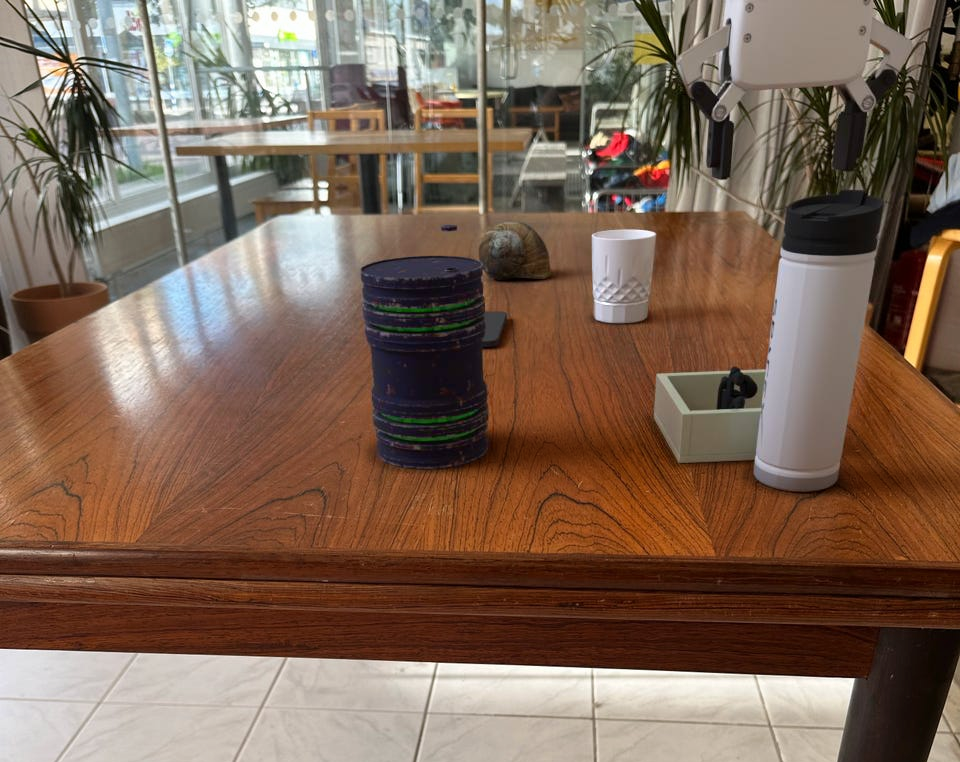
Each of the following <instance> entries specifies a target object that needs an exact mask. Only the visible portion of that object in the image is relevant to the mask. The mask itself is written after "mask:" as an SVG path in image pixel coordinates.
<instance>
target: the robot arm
mask: <svg viewBox="0 0 960 762" xmlns="http://www.w3.org/2000/svg"><path fill="white" fill-rule="evenodd" d="M724 5H725V6H724V12H723V19H722V27H720V28H718V29H717V30H716V31H714V32H713V33H711V34H709V35H708V36H707V37H705V38H703V39H702V40H700V41H699V42H698V43H696V44H694V45H693V46H691V47H690V48H688V49H687V50H685V51H684V52H682V53H680V54H679V55H678V56H677V58H676V60H675V65H676V69H677V70H678V73H679V76H680V78H681V80H682V83H683V85H684V87H685V90H686V94H687V96H688V98H689V99H690V100H691V101H692V102H693V104H694V105H695V106H696V107H697V108H698V109H699V110H700V112H701V113H702V114H703V115H704V118H705V119H706V120H708V125H707V126H708V127H707V140H706V157H705V159H706V161H705V162H706V163H705V164H706V168H707V169H711V176H712V178H714V179H716V180H718V181H724V180H725V181H726V180H728V179H729V178H731V173H732V161H733V160H732V159H733V147H734V133H735V122H733V120H731V112H732V111H733V110H734V108H735V107H736V106H737V104H738V103H740V101H741V99H742V98H743V97H744V95H746V93H747V92H748V91H767V90H769V91H770V90H785V89H800V88H814V87H815V88H816V87H829V86H833V87H834V88H835V91H836V92H837V94H838V95H839V97H840V98H841V100H842V102H843V103H844V110H843V111H842V110H841V111H840V113H838V116H837V119H836V120H837V121H836V122H837V123H836V129H835V137H834V138H835V139H834V144H833V153H832V161H831V167H832V168H833V169H834V170H838V171H840V172H845V173H850V172H851V173H852V172H854V171H855V169H856V163H857V159H860V158H861V157H862V153H863V149H864V141H865V134H866V133H865V132H866V128H867V119H868V113H870V112H871V111H872V110H873V109H874V108H875V107H876V104H877V102H878V101H879V100H880V99H881V98H882V97H883V96H884V95H885V93H887V91H889V89H891V87H892V86H893V85H894V84H895V83H896V80H897V75H898V74H899V72H901V70H902V69H903V67H904V65H905V63H906V61H907V60H908V58H909V56H910V54H911V53H912V51H913V49H914V42H913V41H912V40H911V39H910V38H908V37H907V36H905V35H903V34H902V33H900V32H898V31H897V30H895V29H893V28H891V27H890V26H888V25H886V24H885V23H883V22H882V21H880V20H878V19H877V18H875V17H873V13H874V11H873V9H874V0H725V4H724ZM870 45H872V46H873V47H875V48H877V49H878V50H880V51H881V52H882V54H883V57H882V60H881V62H880V65H879V67H878V68H877V70H876V71H875V72H873V74H871V76H870V77H869V78H868V79H867V80H865V79H864V77H863V73H864V71H865V70H866V66H867V62H868V61H867V60H868V56H869V51H870ZM717 54H719V55H718V80H719V82H720V83H721V85H720V87H719V88H718V89H717V90H716V92H714V91H713V90H712V89H711V88H710V87H709V85H708V84H707V83H706V81H705V79H704V77H703V74H702V65H703V64H704V63H705V62H706V61H708V60H710V59H711V58H712V57H714V56H715V55H716V56H717Z"/></svg>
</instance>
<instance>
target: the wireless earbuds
mask: <svg viewBox="0 0 960 762" xmlns="http://www.w3.org/2000/svg"><path fill="white" fill-rule="evenodd" d="M740 370H741V368H739V367H738V366H735V365H733V366H732V367H731V368H730V370H729V371H730V374H729V377H726V376H724V377H722V379H721V383H720V385H719V389H718V397H717V407H716V410H723V409H744V405H745V399H750V398H752V397H754V396H755V395H756V393H757V390H758V387H757V384H756V383H755V382H754V380H753V379H752V378H751V377H750V376H749V375H744V374H743V373H742V372H741V371H740ZM734 383H735V385H737V386H739V387H740V391H738V390H735V389H734ZM723 390H724V391H723Z"/></svg>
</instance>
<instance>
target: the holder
mask: <svg viewBox="0 0 960 762" xmlns="http://www.w3.org/2000/svg"><path fill="white" fill-rule="evenodd" d="M730 371H731V370H715V371H713V370H712V371H695V372H694V371H693V372H692V371H691V372H690V371H689V372H688V371H687V372H668V373H656V375H655V390H654V391H655V392H654V407H653V419H654V421H655V423H656V425H657V426H658V428H659V430H660V432H661V434H662V435H663V437H664V439H665V441H666V443H667V444H668V446H669V448H670V450H671V452H672V453H673V455H674V457H675V459H676V460H677V463H678V464H689V463H692V464H693V463H714V462H715V463H716V462H732V461H733V462H737V461H738V462H739V461H755V456H756V447H757V439H758V431H759V422H760V414H761V406H762V398H763V390H764V382H765V374H766V368H765V369H764V368H763V369H740V371H741V372H742V373H743V374H744V375H749V376H750V377H751V378H752V379H753V380H754V382H755V383H756V384H757V387H758V390H757V393H756V395H755V396H754V397H752V398H750V399H745V405H744V409H723V410H716V407H717V397H718V389H719V385H720V383H721V379H722V377H724V376H726V377H729V374H730ZM734 389H735V390H738V391H740V387H739V386H737V385H735V383H734ZM723 391H724V390H723Z"/></svg>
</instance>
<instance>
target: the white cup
mask: <svg viewBox="0 0 960 762" xmlns="http://www.w3.org/2000/svg"><path fill="white" fill-rule="evenodd" d="M656 241H657V233H656V232H655V231H651V230H645V229H609V230H608V229H607V230H601V231H596V232H594V233H592V234H591V275H592V277H591V278H592V297H593V318H594V319H595V320H596V321H599V322H602V323H608V324H632V323H633V324H634V323H638V322H642V321H645V320H646V319H647V318H648V313H649V301H650V299H649V297H650V294H651V289H652V279H653V273H654V272H653V271H654V263H655V262H654V261H655V252H656Z"/></svg>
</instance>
